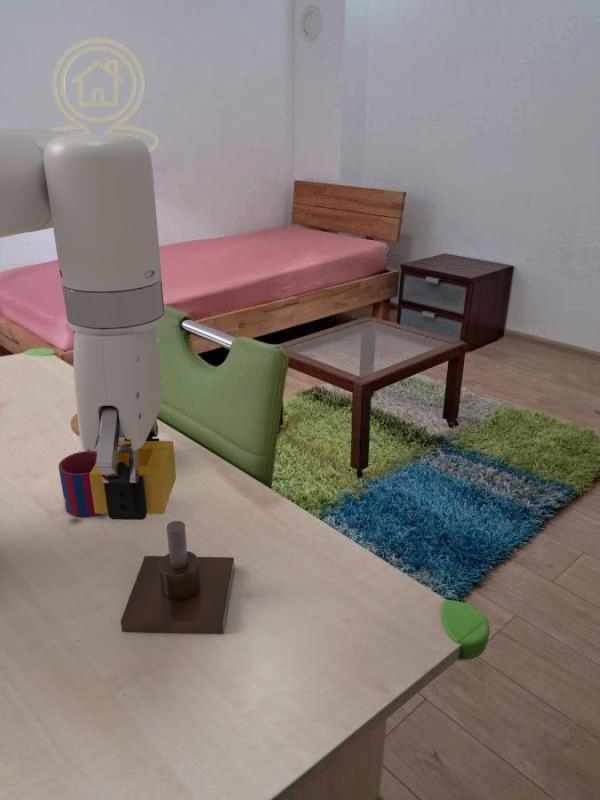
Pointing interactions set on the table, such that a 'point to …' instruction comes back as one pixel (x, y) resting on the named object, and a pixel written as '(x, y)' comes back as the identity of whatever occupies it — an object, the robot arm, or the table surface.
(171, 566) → the stand
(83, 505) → the mug
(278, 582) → the table surface
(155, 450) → the yellow block
